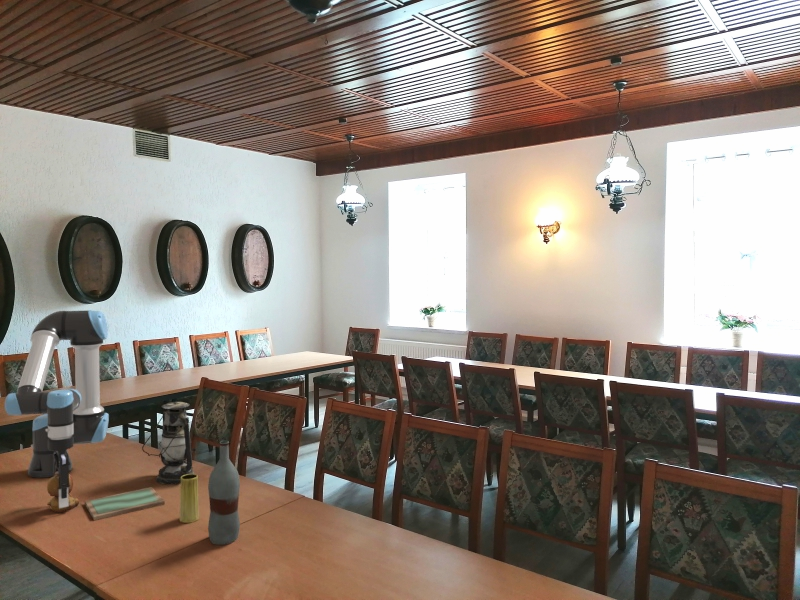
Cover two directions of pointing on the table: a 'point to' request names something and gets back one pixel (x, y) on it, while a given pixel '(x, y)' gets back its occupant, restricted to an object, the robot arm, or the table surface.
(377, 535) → the table surface
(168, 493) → the table surface
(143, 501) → the green framed board
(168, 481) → the lantern
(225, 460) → the bottle
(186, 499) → the vase
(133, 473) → the table surface
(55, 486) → the figurine
